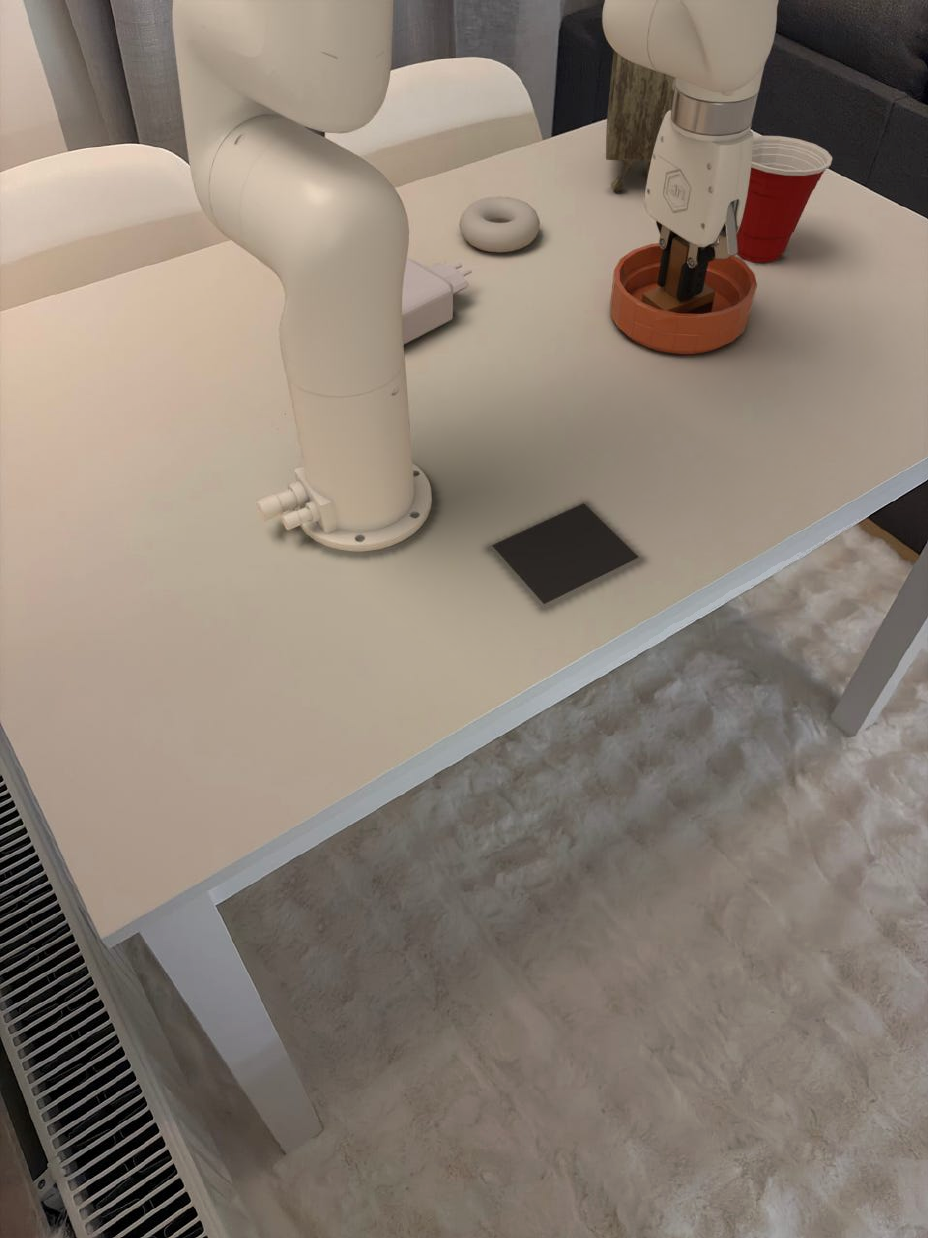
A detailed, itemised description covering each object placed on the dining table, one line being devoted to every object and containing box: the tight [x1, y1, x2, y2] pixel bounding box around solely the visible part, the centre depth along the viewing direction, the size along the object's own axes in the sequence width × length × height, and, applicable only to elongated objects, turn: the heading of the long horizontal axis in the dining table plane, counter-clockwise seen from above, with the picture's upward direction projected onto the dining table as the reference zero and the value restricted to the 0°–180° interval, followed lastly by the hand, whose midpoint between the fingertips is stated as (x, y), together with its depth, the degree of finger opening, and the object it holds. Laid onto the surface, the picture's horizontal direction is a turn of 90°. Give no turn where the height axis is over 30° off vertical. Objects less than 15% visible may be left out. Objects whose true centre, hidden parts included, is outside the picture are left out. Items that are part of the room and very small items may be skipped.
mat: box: [491, 503, 639, 605], centre depth 80 cm, size 10×8×1 cm
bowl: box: [609, 242, 758, 355], centre depth 101 cm, size 15×15×5 cm
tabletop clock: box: [605, 49, 675, 193], centre depth 116 cm, size 14×9×25 cm, turn 174°
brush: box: [641, 236, 716, 314], centre depth 98 cm, size 7×4×9 cm, turn 122°
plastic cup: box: [736, 135, 833, 264], centre depth 108 cm, size 11×11×12 cm
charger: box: [402, 258, 473, 345], centre depth 103 cm, size 5×9×15 cm
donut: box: [459, 196, 541, 253], centre depth 114 cm, size 10×4×10 cm
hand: (679, 287), depth 99 cm, fingers closed on brush, 2 cm apart
